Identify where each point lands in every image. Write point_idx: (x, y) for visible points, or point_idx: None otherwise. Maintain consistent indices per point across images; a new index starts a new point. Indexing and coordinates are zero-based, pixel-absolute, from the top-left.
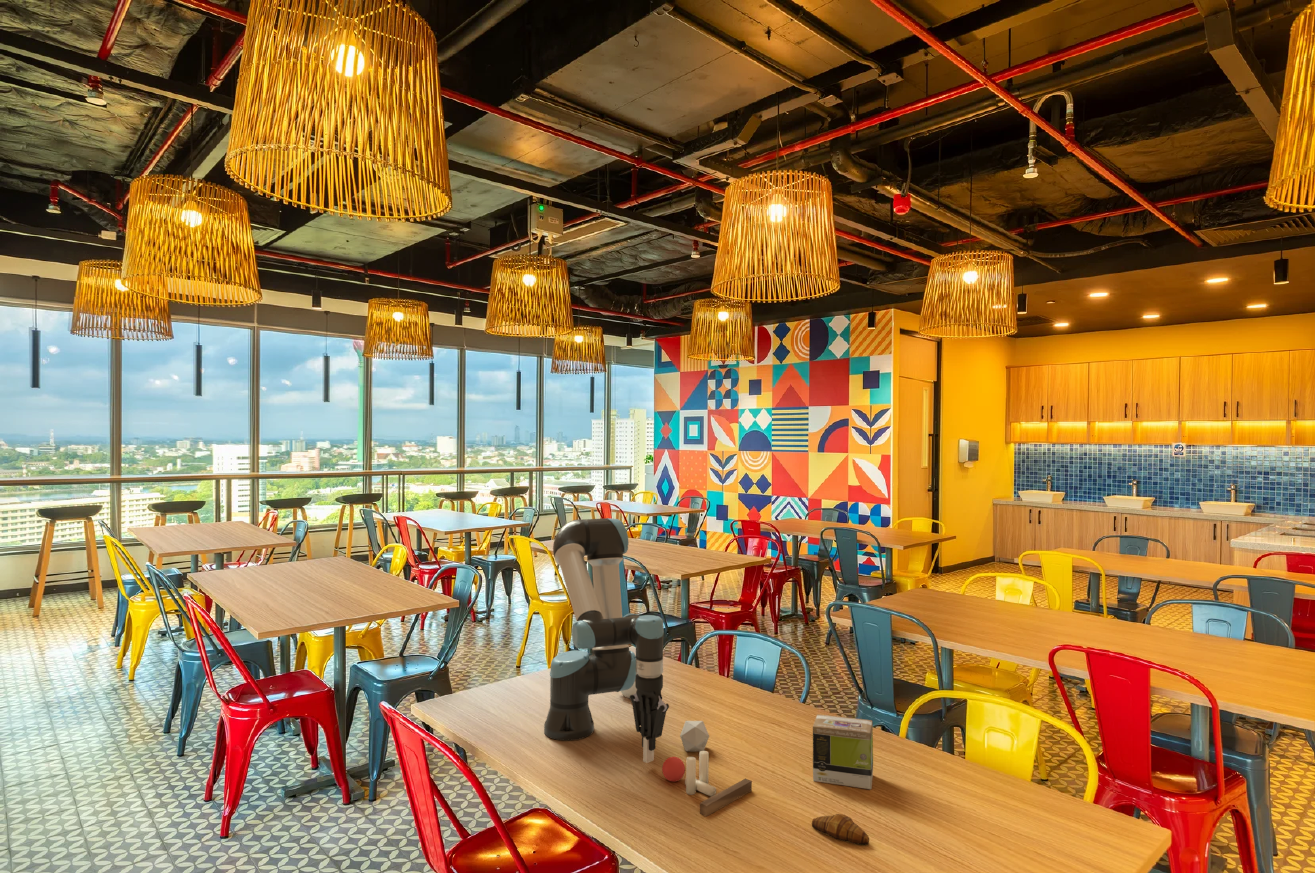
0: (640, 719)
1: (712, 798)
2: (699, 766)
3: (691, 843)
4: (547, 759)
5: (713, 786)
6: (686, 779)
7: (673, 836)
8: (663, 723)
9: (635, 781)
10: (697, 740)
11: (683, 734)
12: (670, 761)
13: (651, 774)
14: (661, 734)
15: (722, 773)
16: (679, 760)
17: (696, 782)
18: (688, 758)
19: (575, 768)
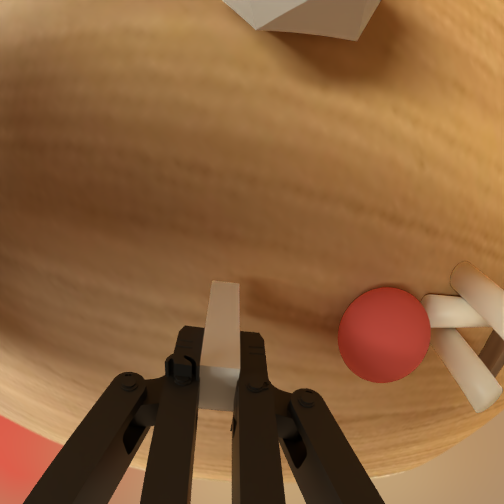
0: (117, 461)
1: (498, 363)
2: (488, 323)
3: (456, 428)
4: (4, 379)
5: None
6: (445, 365)
7: (430, 437)
8: (363, 473)
9: None
10: (366, 17)
11: (275, 18)
12: (393, 380)
13: (272, 321)
14: (323, 402)
15: (486, 158)
16: (424, 352)
17: (461, 326)
18: (481, 405)
19: (70, 393)
